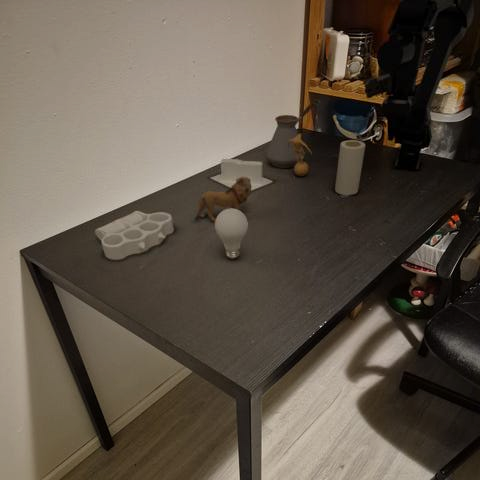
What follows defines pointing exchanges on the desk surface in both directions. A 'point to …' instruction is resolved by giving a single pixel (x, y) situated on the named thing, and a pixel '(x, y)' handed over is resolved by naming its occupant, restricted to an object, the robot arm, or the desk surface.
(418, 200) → the desk surface
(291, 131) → the coffee pot
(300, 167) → the figurine
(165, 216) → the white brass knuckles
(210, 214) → the lion figurine
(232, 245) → the light bulb
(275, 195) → the desk surface
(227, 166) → the napkin holder
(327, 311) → the desk surface
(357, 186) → the paper towel roll
